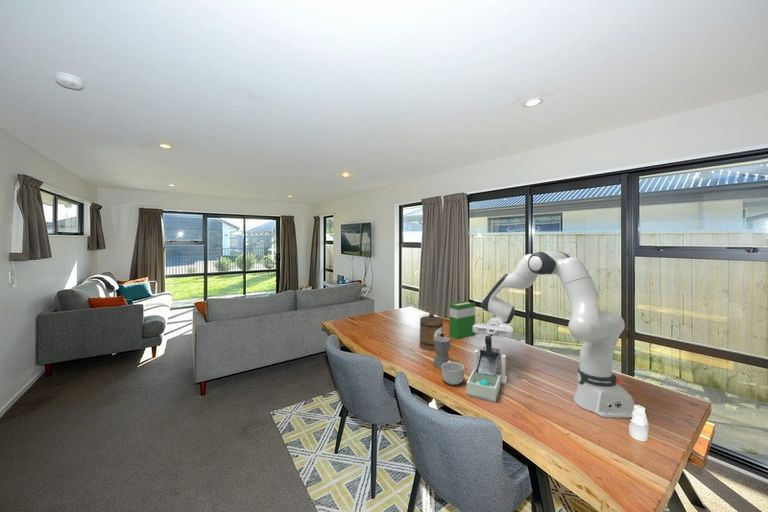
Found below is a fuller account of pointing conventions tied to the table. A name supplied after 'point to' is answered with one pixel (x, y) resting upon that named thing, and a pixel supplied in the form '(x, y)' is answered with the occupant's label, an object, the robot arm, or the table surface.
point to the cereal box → (462, 319)
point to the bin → (480, 390)
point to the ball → (484, 383)
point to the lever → (488, 359)
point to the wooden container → (430, 331)
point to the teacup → (452, 372)
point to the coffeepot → (441, 350)
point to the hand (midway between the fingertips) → (490, 334)
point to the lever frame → (503, 363)
